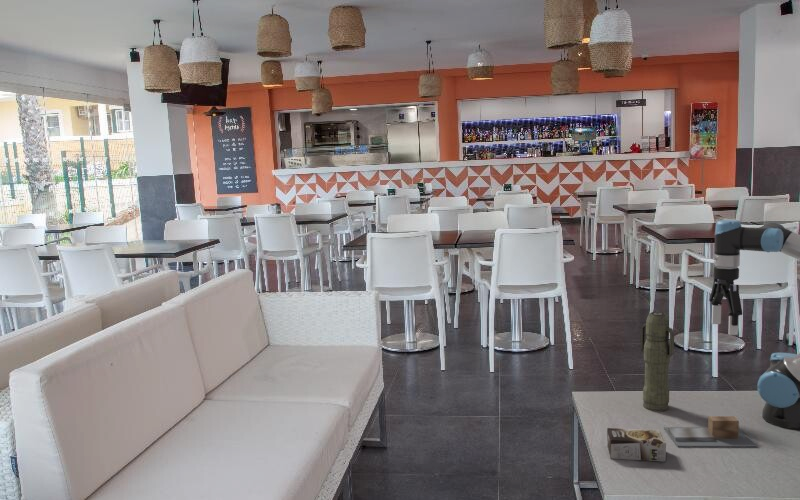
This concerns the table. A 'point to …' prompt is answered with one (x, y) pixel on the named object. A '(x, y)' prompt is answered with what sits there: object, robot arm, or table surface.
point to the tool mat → (715, 441)
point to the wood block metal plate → (709, 430)
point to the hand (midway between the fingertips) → (724, 329)
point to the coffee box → (636, 444)
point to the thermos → (656, 360)
